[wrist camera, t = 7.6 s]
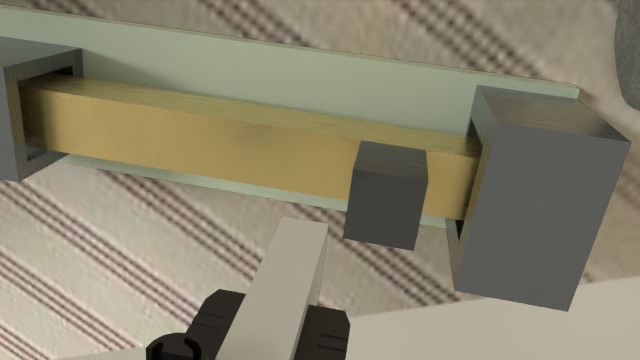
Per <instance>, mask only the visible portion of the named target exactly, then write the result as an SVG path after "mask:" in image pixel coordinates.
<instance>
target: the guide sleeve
mask: <svg viewBox="0 0 640 360" xmlns="http://www.w3.org/2000/svg"><path fill="white" fill-rule="evenodd" d="M47 72H50V73H57V74H63V75H70V76H76V77H83V78H84V72H83V58H82V48H79V47H72V46H65V45H58V44H51V43H45V42H38V41H31V40H24V39H17V38H11V37H4V36H0V179H4V180H10V181H15V182H20V181H22V180H23V179H25V178H27V177H29V176H31V175H32V174H34V173H36V172H38V171H40V170H42V169H43V168H45V167H47V166H49V165H51V164H52V163H54V162H56V161H58V160H60V159H62V158H63V157H65V156H67V155H69V154H70V153H64V152H59V151H53V150H47V149H41V148H35V147H29V146H25V138H24V130H23V122H22V114H21V107H20V99H19V91H18V83H17V81H19V80H23V79H26V78H30V77H33V76H37V75H40V74H43V73H47Z"/></svg>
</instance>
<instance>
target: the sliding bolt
mask: <svg viewBox="0 0 640 360" xmlns="http://www.w3.org/2000/svg"><path fill="white" fill-rule="evenodd" d="M17 83H18V91H19V99H20V107H21V114H22V122H23V130H24V138H25V146H29V147H35V148H41V149H47V150H53V151H59V152H64V153H70V154H76V155H82V156H88V157H94V158H100V159H105V160H111V161H117V162H123V163H129V164H135V165H141V166H146V167H152V168H158V169H164V170H170V171H176V172H182V173H187V174H193V175H199V176H205V177H211V178H217V179H223V180H228V181H234V182H240V183H246V184H252V185H258V186H264V187H269V188H275V189H281V190H287V191H293V192H299V193H304V194H310V195H316V196H322V197H328V198H334V199H340V200H345V201H348V206H347V213H346V220H345V227H344V234H343V238H345V239H350V240H356V241H361V242H367V243H372V244H378V245H384V246H389V247H395V248H400V249H406V250H412V251H414V247H415V242H416V238H417V233H418V228H419V224H420V219H421V214H427V215H433V216H439V217H445V218H451V219H457V220H463V221H465V217H466V213H467V209H468V205H469V201H470V197H471V193H472V189H473V185H474V181H475V177H476V173H477V169H478V165H479V161H480V157H481V153H482V149H483V146H482V144H481V141H480V138H474V137H467V136H461V135H454V134H448V133H441V132H435V131H428V130H422V129H415V128H409V127H402V126H396V125H389V124H383V123H376V122H370V121H363V120H357V119H350V118H344V117H337V116H331V115H324V114H318V113H311V112H305V111H298V110H292V109H285V108H278V107H272V106H265V105H259V104H252V103H246V102H239V101H233V100H226V99H220V98H213V97H207V96H200V95H194V94H187V93H181V92H174V91H168V90H161V89H155V88H148V87H142V86H135V85H129V84H122V83H116V82H109V81H103V80H96V79H90V78H83V77H76V76H70V75H63V74H57V73H50V72H47V73H43V74H40V75H37V76H33V77H30V78H26V79H23V80H19V81H17Z"/></svg>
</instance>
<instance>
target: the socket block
mask: <svg viewBox="0 0 640 360" xmlns="http://www.w3.org/2000/svg"><path fill="white" fill-rule="evenodd" d="M465 136H467V137H474V138H480V141H481V144H482V146H483V149H482V153H481V157H480V161H479V165H478V169H477V173H476V177H475V181H474V185H473V189H472V193H471V197H470V201H469V205H468V209H467V213H466V217H465V221H463V220H457V219H451V218H446V219H445V225H446V232H447V240H448V247H449V255H450V262H451V270H452V277H453V285H454V291H459V292H465V293H470V294H476V295H481V296H486V297H492V298H497V299H502V300H508V301H513V302H519V303H524V304H529V305H535V306H540V307H546V308H551V309H557V310H562V311H567V312H568V310H569V307H570V305H571V302H572V299H573V296H574V294H575V291H576V288H577V286H578V283H579V280H580V278H581V275H582V272H583V270H584V267H585V264H586V262H587V259H588V256H589V254H590V251H591V248H592V246H593V243H594V240H595V238H596V235H597V232H598V230H599V227H600V224H601V222H602V219H603V216H604V214H605V211H606V208H607V206H608V203H609V200H610V198H611V195H612V192H613V190H614V187H615V184H616V182H617V179H618V176H619V174H620V171H621V168H622V166H623V163H624V160H625V158H626V155H627V152H628V150H629V147H630V144H631V142H630V141H629V140H628V139H626V138H625V137H624V136H623V135H622V134H620V133H619V132H618V131H617V130H615V129H614V128H613V127H612V126H610V125H609V124H608V123H607V122H605V121H604V120H603V119H602V118H600V117H599V116H598V115H597V114H595V113H594V112H593V111H592V110H590V109H589V108H588V107H587V106H585V105H584V104H583V103H582V102H580V101H579V100H578V99H574V98H567V97H560V96H553V95H546V94H539V93H532V92H525V91H518V90H511V89H504V88H497V87H490V86H483V85H477V87H476V91H475V95H474V100H473V104H472V108H471V112H470V117H469V121H468V125H467V129H466V134H465Z"/></svg>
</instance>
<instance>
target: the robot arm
mask: <svg viewBox="0 0 640 360" xmlns="http://www.w3.org/2000/svg"><path fill="white" fill-rule="evenodd" d="M328 226H329V224H326V223H320V222H314V221H308V220H302V219H297V218H291V217H285V216H283V218H282V220H281V222H280V224H279V226H278V228H277V230H276V233H275V235H274V237H273V239H272V241H271V243H270V245H269V247H268V249H267V251H266V254H265V256H264V258H263V260H262V262H261V264H260V266H259V268H258V270H257V272H256V274H255V277H254V279H253V281H252V283H251V285H250V287H249V289H248V291H247V293H246V294H243V293H238V292H233V291H227V290H222V289H219V290H217V291H216V292H215V293H213V294H212V295H210V296H209V297H208V298H206V299H205V301H204V302H203V304H202V306H201V308H200V309H199V311H198V314H196V316H195V318H194V319H193V321H192V324H191V325H190V326H189V328H188V330H187V331H186V333H172V334H167V335H163V336H161V337H159V338H157V339H155V340H153V341H152V342H151V343H150V344H149V345H148V346H147V347H146V360H345V358H346V351H347V344H348V337H349V330H350V323H349V320H348V318H347V315H346V313H345V311H342V310H336V309H331V308H326V307H320V306H317V302H318V298H319V294H320V287H321V279H322V271H323V264H324V256H325V249H326V241H327V234H328Z"/></svg>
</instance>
